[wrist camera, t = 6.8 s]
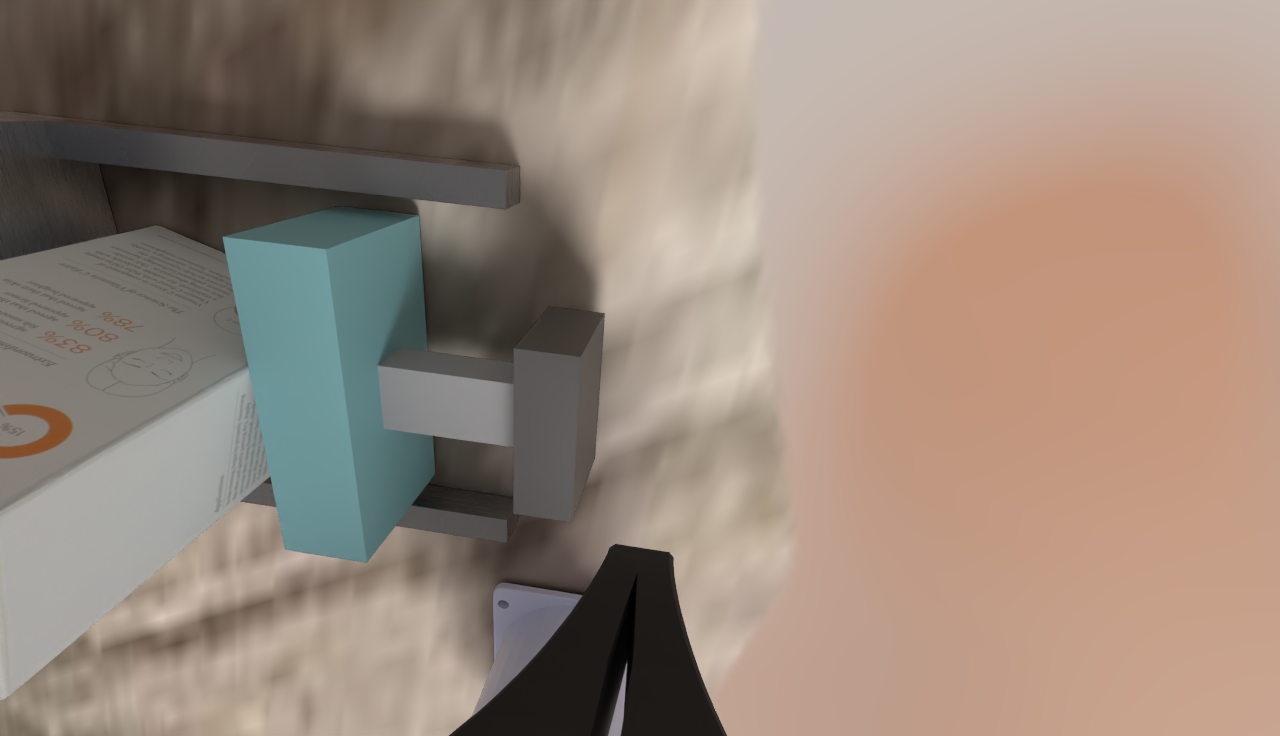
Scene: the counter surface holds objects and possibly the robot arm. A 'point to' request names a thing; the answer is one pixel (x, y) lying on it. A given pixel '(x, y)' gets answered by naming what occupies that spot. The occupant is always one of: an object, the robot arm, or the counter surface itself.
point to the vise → (80, 211)
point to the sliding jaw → (394, 382)
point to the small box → (113, 428)
